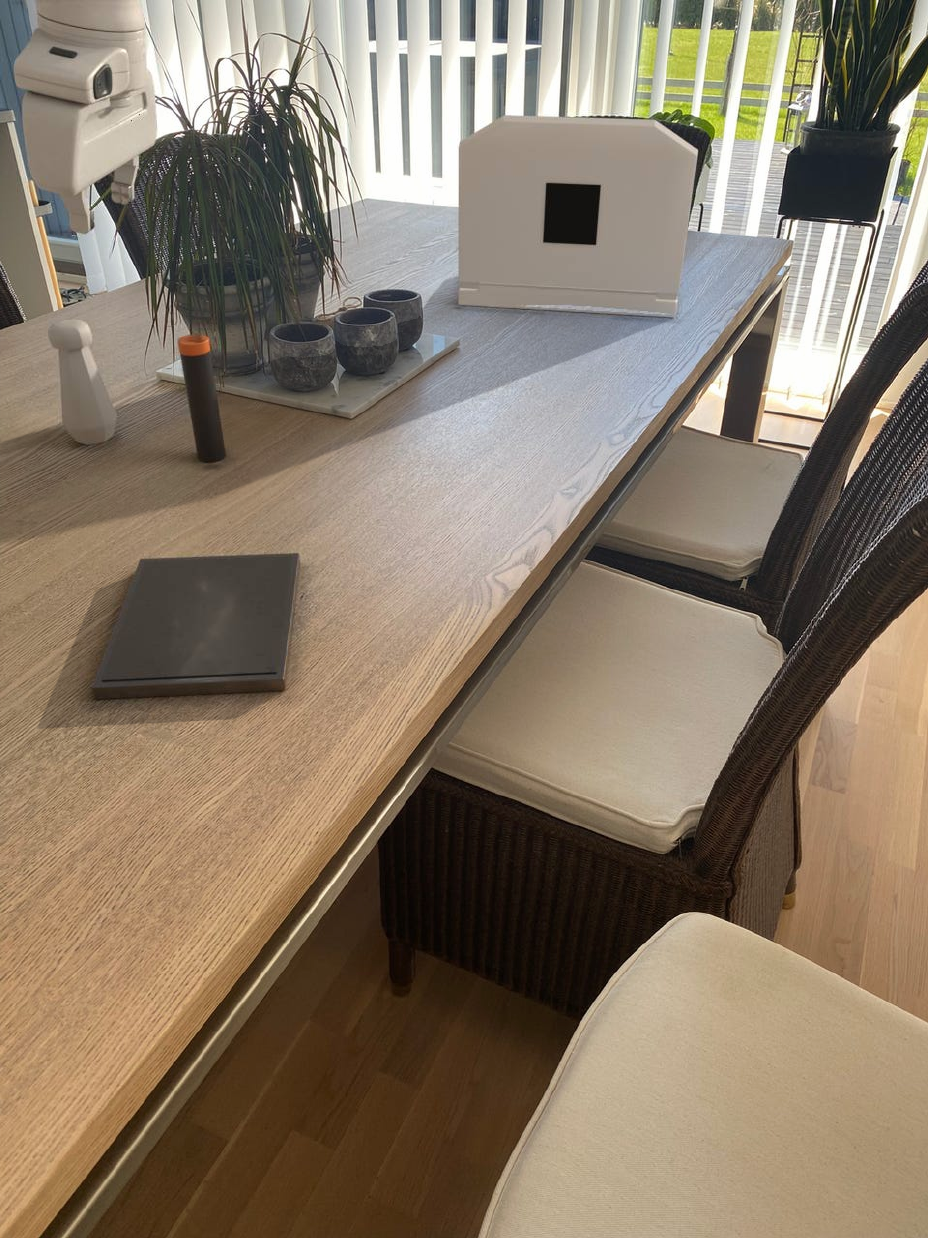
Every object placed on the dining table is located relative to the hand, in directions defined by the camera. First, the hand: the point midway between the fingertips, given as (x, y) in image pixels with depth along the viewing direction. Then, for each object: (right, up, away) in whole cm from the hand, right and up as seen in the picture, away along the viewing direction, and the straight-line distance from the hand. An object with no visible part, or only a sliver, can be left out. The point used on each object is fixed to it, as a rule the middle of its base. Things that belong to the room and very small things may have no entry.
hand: (103, 215), depth 93 cm
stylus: (+8, -22, +11) cm, 25 cm away
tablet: (+14, -40, -15) cm, 45 cm away
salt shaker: (-7, -19, +15) cm, 25 cm away
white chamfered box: (+53, +14, +62) cm, 83 cm away
